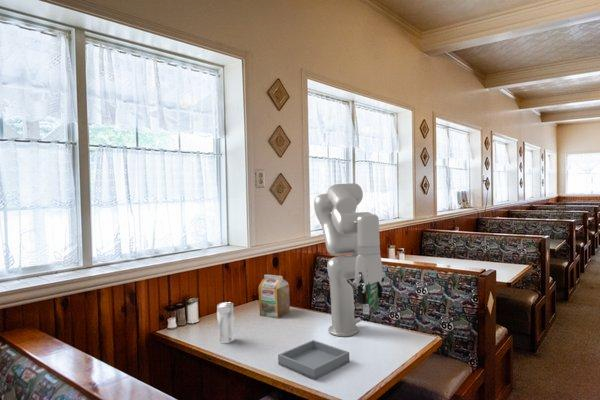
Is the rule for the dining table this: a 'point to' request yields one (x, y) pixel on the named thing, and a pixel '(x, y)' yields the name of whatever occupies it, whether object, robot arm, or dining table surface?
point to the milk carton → (274, 297)
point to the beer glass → (226, 321)
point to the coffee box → (371, 299)
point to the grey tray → (313, 359)
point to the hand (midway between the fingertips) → (370, 300)
